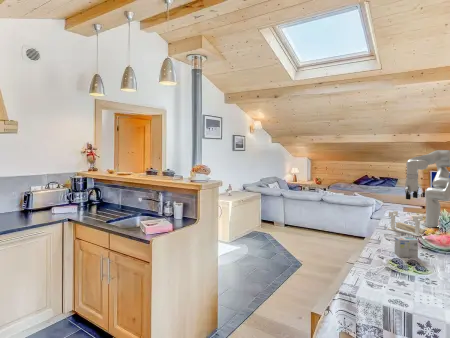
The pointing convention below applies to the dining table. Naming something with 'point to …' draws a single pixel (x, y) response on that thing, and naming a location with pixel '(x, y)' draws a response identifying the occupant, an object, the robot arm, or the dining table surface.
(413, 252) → the light bulb box
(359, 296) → the dining table surface
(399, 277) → the dining table surface
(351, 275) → the dining table surface
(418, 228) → the rack
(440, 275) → the dining table surface
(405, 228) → the rail
